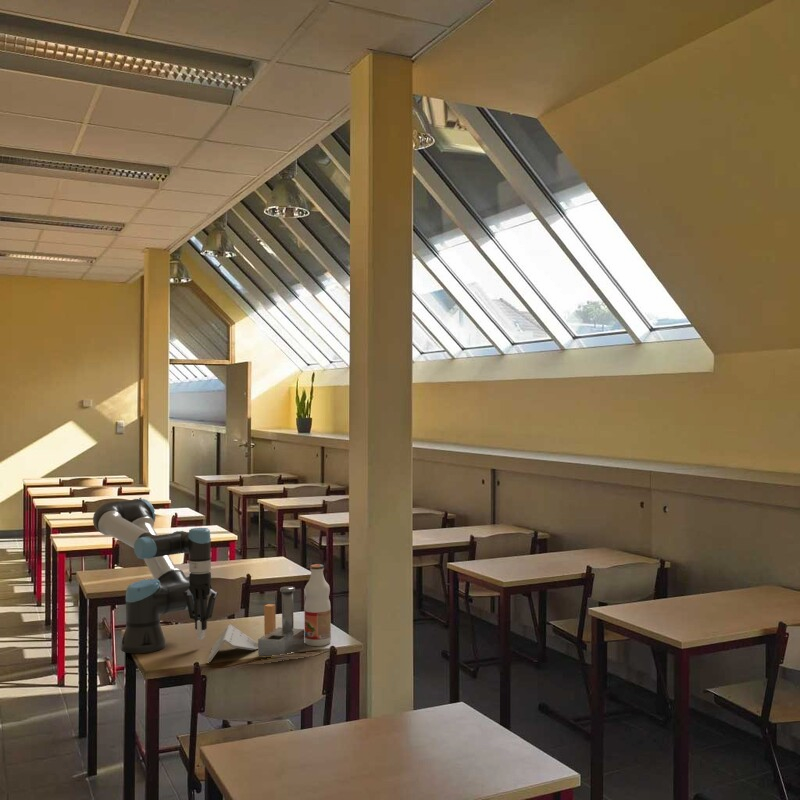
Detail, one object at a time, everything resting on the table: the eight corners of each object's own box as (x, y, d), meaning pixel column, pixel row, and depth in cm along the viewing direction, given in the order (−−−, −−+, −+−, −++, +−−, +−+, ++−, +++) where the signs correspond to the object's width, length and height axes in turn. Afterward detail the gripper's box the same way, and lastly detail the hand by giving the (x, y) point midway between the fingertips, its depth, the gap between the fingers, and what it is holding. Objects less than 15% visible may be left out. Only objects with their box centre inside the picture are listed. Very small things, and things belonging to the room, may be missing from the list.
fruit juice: (330, 646, 293) (329, 567, 294) (304, 647, 293) (303, 568, 293) (331, 639, 303) (330, 562, 303) (305, 639, 302) (304, 563, 302)
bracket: (224, 638, 275) (229, 623, 295) (205, 663, 274) (212, 646, 294) (256, 661, 276) (259, 644, 296) (238, 685, 276) (242, 667, 295)
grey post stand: (258, 656, 282) (257, 595, 282) (279, 644, 297) (278, 585, 297) (285, 659, 279) (284, 596, 279) (304, 646, 294) (303, 587, 294)
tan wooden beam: (264, 641, 300) (264, 605, 300) (268, 639, 303) (267, 604, 303) (272, 642, 299) (271, 606, 300) (275, 640, 302) (275, 604, 302)
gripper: (178, 573, 292) (179, 640, 291) (210, 574, 288) (211, 642, 287) (189, 569, 299) (190, 634, 298) (221, 570, 295) (222, 637, 294)
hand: (201, 638), depth 293 cm, fingers closed
